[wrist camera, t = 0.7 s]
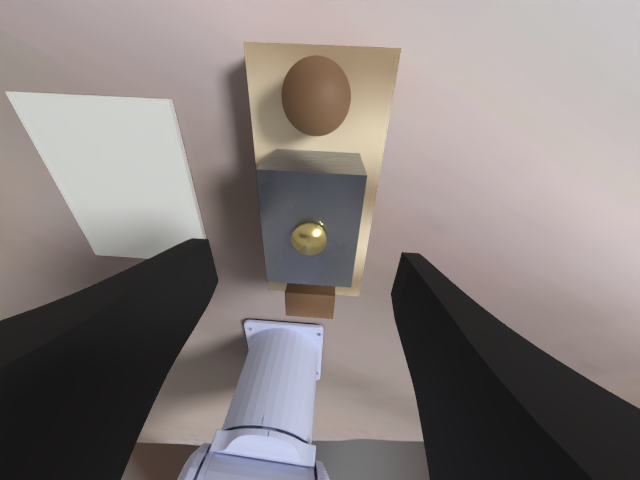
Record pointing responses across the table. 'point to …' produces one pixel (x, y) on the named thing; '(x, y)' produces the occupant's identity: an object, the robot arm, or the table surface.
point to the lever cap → (311, 215)
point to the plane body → (322, 127)
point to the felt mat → (116, 168)
